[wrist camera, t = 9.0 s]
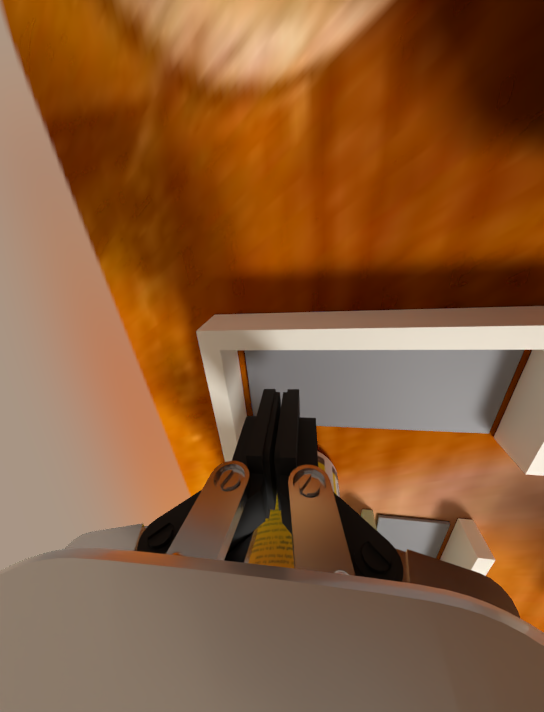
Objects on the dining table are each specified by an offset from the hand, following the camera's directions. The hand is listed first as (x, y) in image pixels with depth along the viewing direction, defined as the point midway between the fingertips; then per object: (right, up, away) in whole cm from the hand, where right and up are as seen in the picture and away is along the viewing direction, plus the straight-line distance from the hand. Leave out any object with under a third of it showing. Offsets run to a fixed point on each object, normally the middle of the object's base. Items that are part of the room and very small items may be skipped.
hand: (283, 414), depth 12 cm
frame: (+6, -6, +6) cm, 10 cm away
